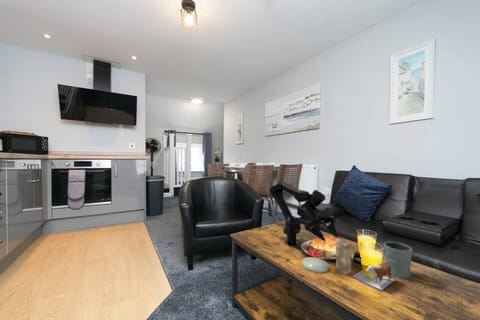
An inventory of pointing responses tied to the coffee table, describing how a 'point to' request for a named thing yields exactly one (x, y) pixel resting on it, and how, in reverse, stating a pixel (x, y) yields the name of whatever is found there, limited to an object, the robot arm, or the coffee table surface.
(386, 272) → the bull figurine
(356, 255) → the black recessed tray
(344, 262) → the birch block
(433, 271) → the coffee table surface
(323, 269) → the saucer
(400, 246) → the grey green pot
